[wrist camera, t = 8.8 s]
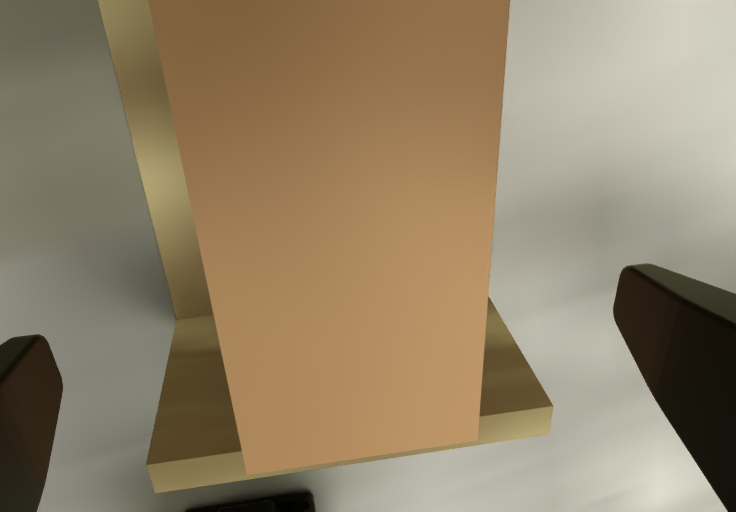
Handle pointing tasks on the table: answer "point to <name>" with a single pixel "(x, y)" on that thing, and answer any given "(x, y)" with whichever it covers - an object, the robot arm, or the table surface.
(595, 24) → the table surface
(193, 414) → the shelf frame
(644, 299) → the robot arm
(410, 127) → the tan rectangular block
